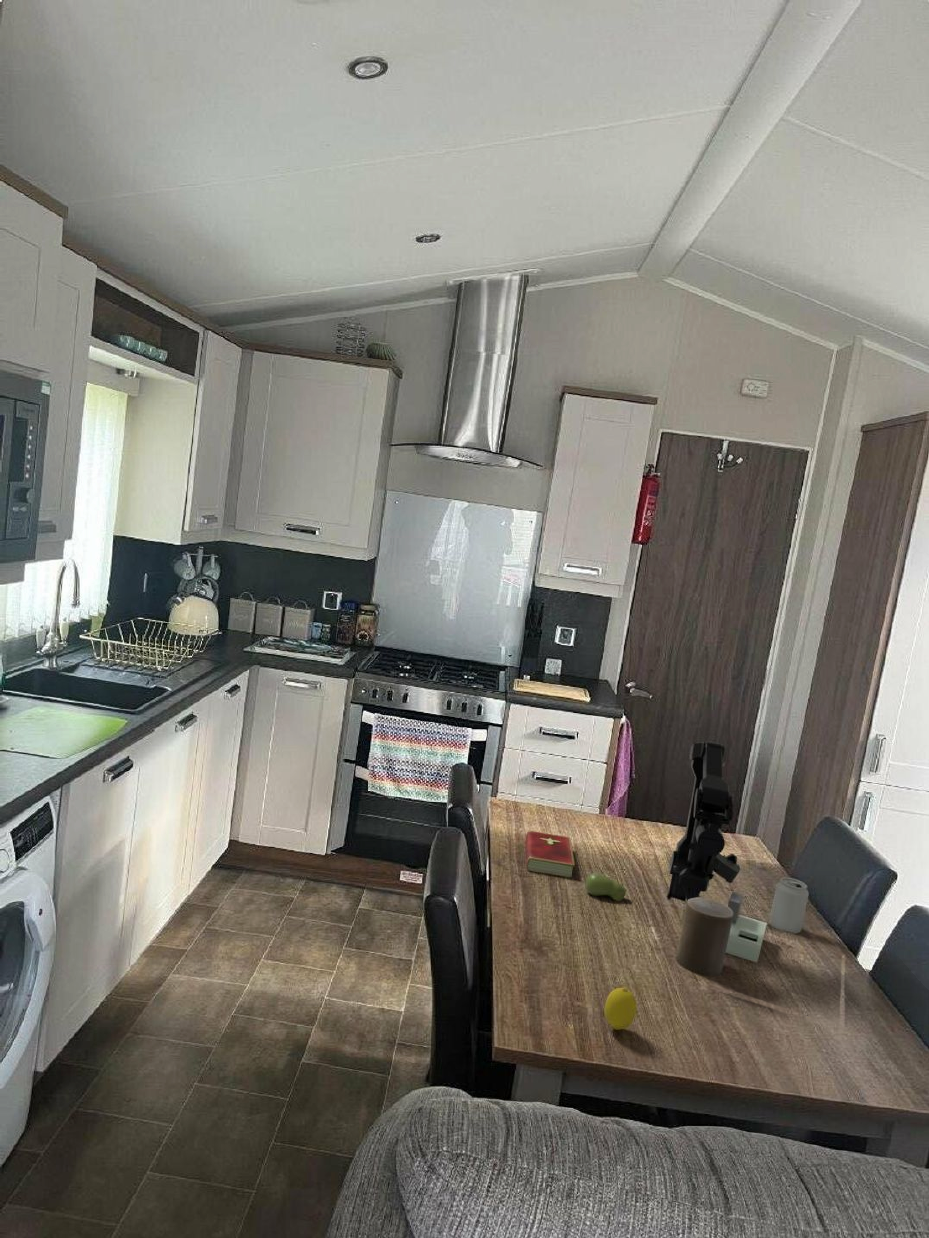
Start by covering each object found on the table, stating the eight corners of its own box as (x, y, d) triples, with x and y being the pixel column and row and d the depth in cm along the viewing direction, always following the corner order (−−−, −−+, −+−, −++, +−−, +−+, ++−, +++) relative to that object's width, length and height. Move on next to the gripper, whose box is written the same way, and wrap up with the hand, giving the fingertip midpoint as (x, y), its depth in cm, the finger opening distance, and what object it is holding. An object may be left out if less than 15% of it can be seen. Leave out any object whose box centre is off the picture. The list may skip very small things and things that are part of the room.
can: (802, 939, 221) (812, 891, 220) (770, 931, 223) (779, 883, 221) (797, 926, 229) (807, 880, 227) (766, 919, 230) (775, 873, 229)
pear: (589, 866, 231) (627, 880, 231) (581, 886, 232) (620, 899, 231) (590, 874, 226) (629, 888, 225) (583, 894, 226) (622, 908, 226)
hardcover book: (525, 872, 237) (528, 856, 237) (524, 843, 258) (527, 829, 258) (572, 879, 237) (575, 864, 236) (567, 850, 258) (570, 836, 257)
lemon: (598, 1019, 170) (605, 978, 169) (627, 1022, 170) (635, 981, 169) (605, 1036, 164) (613, 994, 163) (635, 1040, 165) (643, 997, 164)
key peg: (680, 929, 212) (687, 891, 211) (682, 924, 215) (689, 887, 214) (693, 933, 211) (700, 895, 210) (695, 928, 214) (702, 891, 213)
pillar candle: (695, 982, 191) (710, 912, 189) (665, 958, 199) (678, 892, 197) (730, 978, 195) (745, 910, 194) (699, 955, 204) (713, 890, 202)
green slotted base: (713, 934, 206) (718, 909, 205) (722, 913, 218) (726, 889, 218) (760, 949, 202) (765, 923, 201) (766, 927, 215) (771, 902, 214)
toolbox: (709, 951, 206) (713, 934, 206) (718, 929, 219) (721, 913, 218) (756, 966, 202) (759, 949, 202) (762, 943, 215) (765, 926, 215)
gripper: (736, 862, 199) (722, 931, 201) (745, 839, 216) (733, 903, 218) (684, 847, 203) (671, 915, 205) (697, 826, 220) (685, 889, 222)
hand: (692, 906), depth 212 cm, fingers closed on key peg, 3 cm apart
